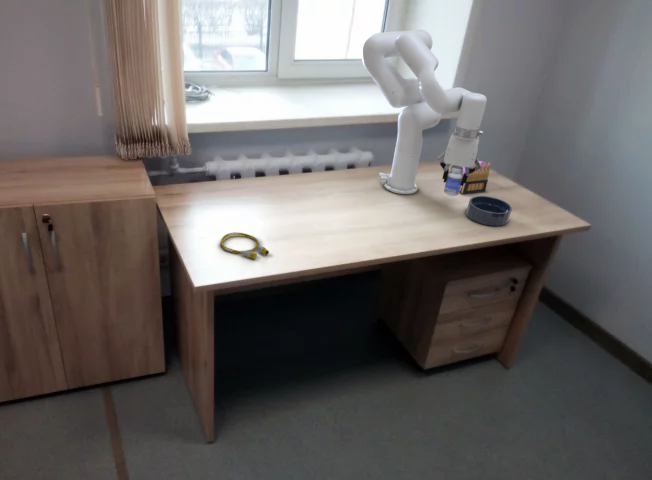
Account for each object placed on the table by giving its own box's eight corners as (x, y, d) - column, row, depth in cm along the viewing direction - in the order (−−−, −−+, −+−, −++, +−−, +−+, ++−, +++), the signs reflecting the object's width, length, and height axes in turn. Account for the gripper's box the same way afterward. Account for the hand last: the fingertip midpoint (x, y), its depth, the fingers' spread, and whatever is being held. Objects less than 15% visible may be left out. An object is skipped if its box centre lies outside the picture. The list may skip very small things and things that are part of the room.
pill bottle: (459, 197, 185) (466, 170, 180) (443, 195, 186) (450, 168, 181) (458, 191, 190) (464, 165, 185) (442, 189, 191) (449, 163, 185)
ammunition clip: (462, 194, 202) (470, 164, 196) (459, 192, 204) (467, 162, 197) (485, 191, 206) (493, 162, 199) (481, 189, 207) (490, 160, 201)
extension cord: (230, 263, 150) (230, 257, 149) (216, 237, 163) (216, 232, 162) (270, 258, 154) (270, 252, 153) (253, 233, 167) (253, 227, 165)
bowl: (463, 220, 183) (467, 207, 180) (468, 205, 194) (471, 192, 191) (506, 230, 179) (510, 217, 176) (508, 214, 190) (512, 201, 187)
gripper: (493, 133, 176) (479, 184, 186) (442, 125, 182) (430, 174, 191) (492, 139, 171) (477, 191, 180) (438, 130, 176) (427, 181, 186)
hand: (453, 182), depth 186 cm, fingers closed on pill bottle, 5 cm apart
